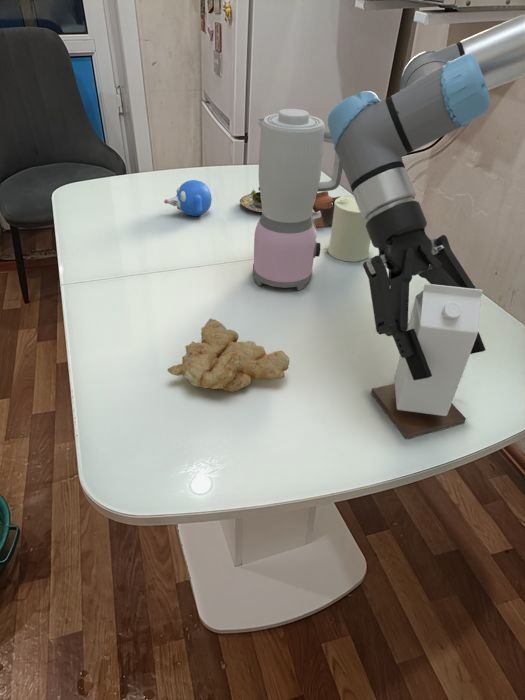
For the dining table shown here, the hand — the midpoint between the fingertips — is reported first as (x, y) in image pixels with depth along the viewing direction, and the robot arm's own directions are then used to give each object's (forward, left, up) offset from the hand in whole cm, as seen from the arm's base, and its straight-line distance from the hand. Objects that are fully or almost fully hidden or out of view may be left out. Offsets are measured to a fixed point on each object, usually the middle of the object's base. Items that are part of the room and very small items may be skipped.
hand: (450, 364), depth 69 cm
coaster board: (+2, -2, -11) cm, 11 cm away
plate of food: (+40, -69, -11) cm, 81 cm away
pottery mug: (+24, -66, -11) cm, 71 cm away
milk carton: (+2, -2, -9) cm, 9 cm away
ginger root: (+32, -2, -11) cm, 34 cm away
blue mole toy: (+57, -59, -11) cm, 83 cm away
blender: (+27, -35, -11) cm, 46 cm away
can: (+16, -50, -11) cm, 54 cm away
